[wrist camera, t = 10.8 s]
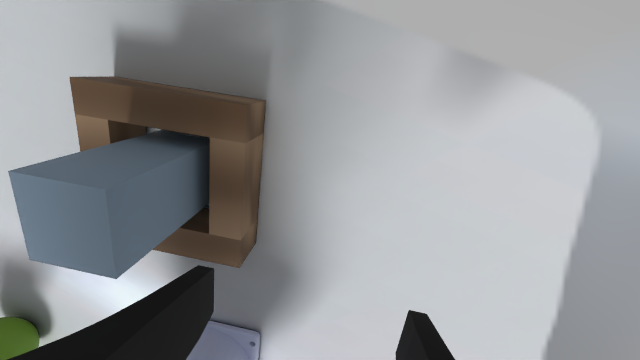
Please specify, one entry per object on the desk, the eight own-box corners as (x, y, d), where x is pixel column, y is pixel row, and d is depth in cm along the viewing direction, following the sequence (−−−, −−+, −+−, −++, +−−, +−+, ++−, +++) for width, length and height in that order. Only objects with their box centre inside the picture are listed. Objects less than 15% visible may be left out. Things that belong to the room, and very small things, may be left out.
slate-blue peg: (217, 196, 21) (116, 278, 12) (163, 186, 21) (29, 259, 13) (218, 140, 19) (105, 189, 11) (160, 130, 20) (8, 171, 11)
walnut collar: (255, 242, 22) (239, 267, 19) (127, 216, 22) (93, 236, 20) (265, 100, 18) (247, 105, 15) (113, 76, 19) (69, 77, 16)
